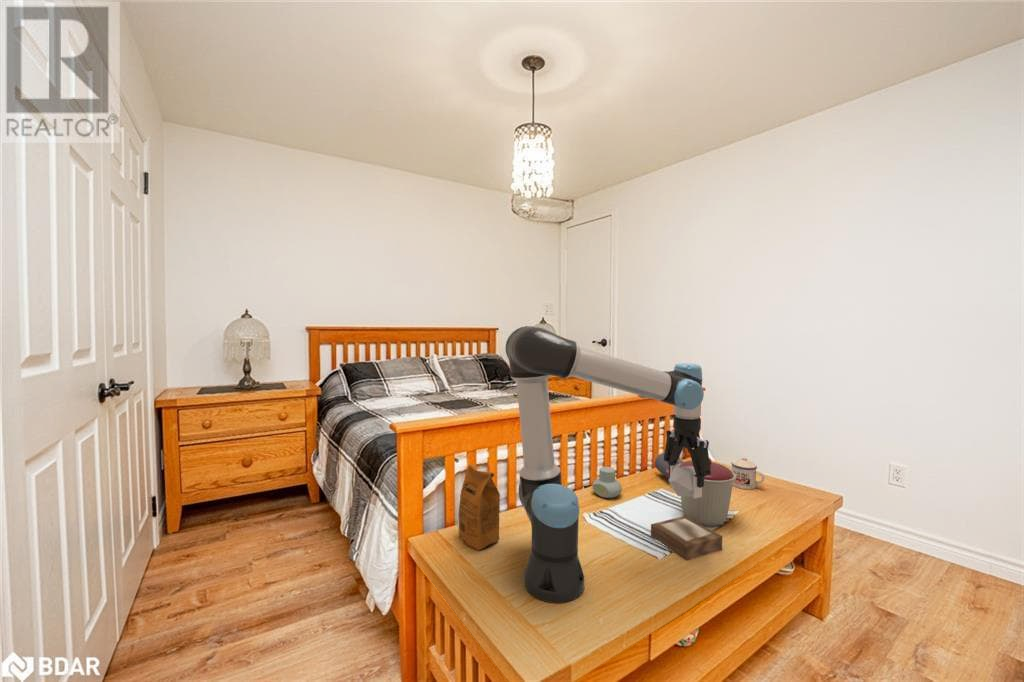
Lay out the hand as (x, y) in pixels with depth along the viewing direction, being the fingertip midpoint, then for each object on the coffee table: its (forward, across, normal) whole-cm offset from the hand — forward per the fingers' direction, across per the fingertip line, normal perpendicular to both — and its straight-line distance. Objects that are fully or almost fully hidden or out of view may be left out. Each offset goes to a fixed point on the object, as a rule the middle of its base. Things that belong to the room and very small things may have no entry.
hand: (685, 491), depth 127 cm
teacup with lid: (+16, +21, -57) cm, 63 cm away
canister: (+16, +9, -18) cm, 26 cm away
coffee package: (+15, +27, +56) cm, 64 cm away
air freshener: (+16, +38, 0) cm, 41 cm away
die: (+1, 0, 0) cm, 1 cm away
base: (+16, 0, 0) cm, 16 cm away
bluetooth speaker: (+16, +34, -33) cm, 51 cm away
